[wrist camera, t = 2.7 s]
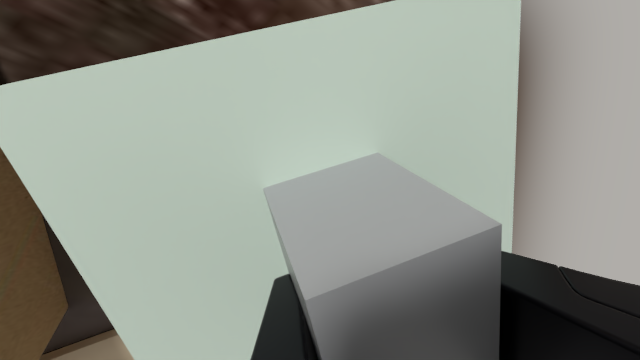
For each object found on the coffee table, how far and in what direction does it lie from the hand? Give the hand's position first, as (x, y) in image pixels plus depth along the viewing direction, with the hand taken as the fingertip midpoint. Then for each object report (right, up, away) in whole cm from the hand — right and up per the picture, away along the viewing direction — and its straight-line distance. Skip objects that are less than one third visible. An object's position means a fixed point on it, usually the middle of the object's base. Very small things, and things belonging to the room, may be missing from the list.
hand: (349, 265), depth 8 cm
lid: (-1, +1, +2) cm, 3 cm away
